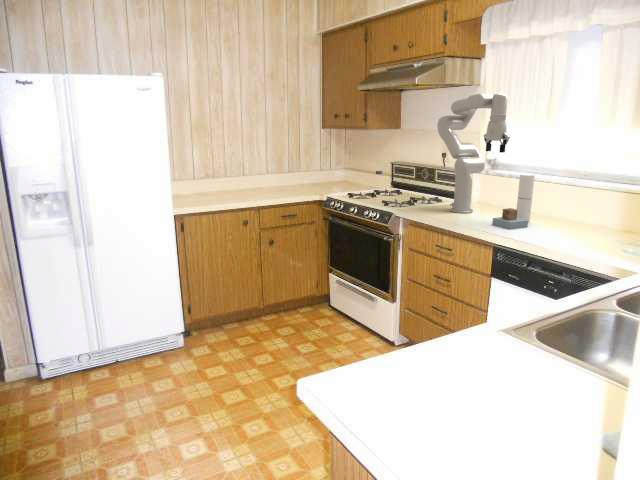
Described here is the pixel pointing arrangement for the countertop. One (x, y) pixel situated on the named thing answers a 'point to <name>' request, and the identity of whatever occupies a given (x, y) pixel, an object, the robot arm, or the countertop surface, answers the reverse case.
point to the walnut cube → (509, 214)
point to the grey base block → (510, 223)
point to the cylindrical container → (525, 196)
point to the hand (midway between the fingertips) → (495, 151)
